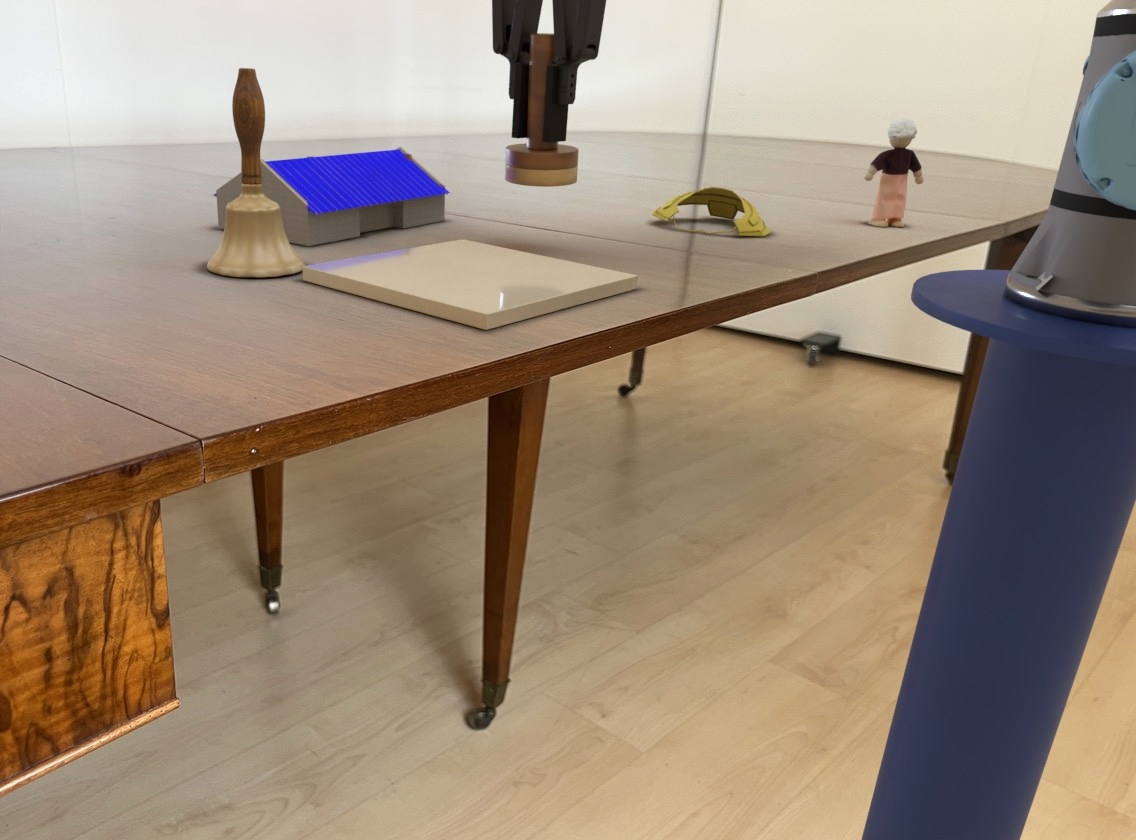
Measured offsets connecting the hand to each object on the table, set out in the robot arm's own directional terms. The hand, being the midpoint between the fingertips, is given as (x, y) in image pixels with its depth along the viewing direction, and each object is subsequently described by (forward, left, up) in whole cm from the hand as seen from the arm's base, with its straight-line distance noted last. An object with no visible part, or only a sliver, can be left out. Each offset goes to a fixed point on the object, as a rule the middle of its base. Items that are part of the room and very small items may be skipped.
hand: (538, 138), depth 94 cm
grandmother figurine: (-17, -50, -11) cm, 54 cm away
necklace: (-4, -30, -11) cm, 32 cm away
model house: (+22, +6, -11) cm, 25 cm away
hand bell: (+10, +26, -11) cm, 30 cm away
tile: (-6, +16, -11) cm, 20 cm away
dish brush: (0, -1, -4) cm, 4 cm away
